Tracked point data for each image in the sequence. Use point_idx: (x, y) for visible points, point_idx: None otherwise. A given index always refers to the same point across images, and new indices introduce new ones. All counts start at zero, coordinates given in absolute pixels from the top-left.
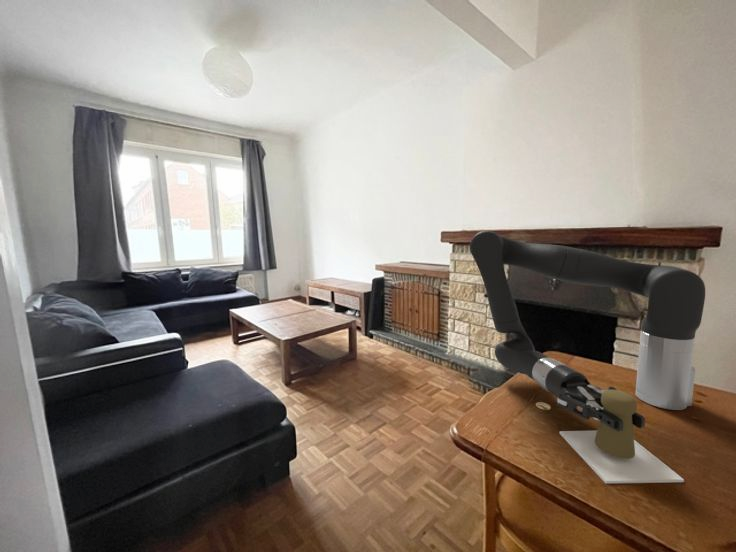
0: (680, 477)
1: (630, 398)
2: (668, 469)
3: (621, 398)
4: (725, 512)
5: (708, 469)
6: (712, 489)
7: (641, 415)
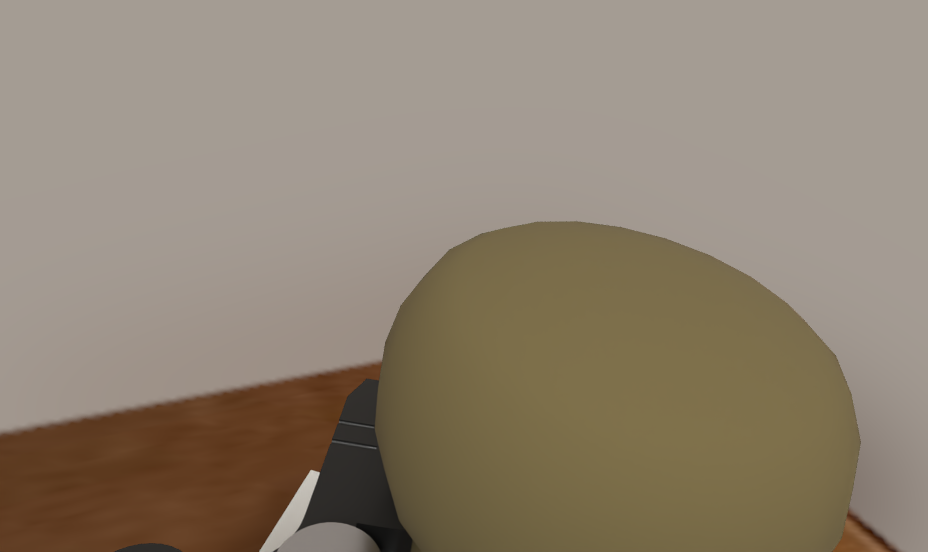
0: (310, 480)
1: (558, 224)
2: (290, 533)
3: (691, 249)
4: (360, 371)
5: (46, 479)
6: (244, 422)
7: (349, 400)
